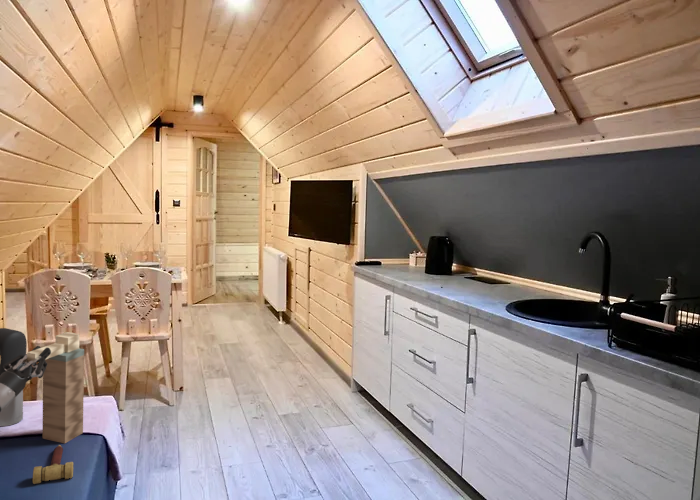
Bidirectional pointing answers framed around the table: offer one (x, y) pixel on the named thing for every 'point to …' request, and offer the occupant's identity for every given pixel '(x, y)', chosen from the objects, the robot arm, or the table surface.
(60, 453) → the gavel
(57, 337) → the maple key
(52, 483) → the table surface
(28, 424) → the table surface
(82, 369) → the teal-capped wooden post
